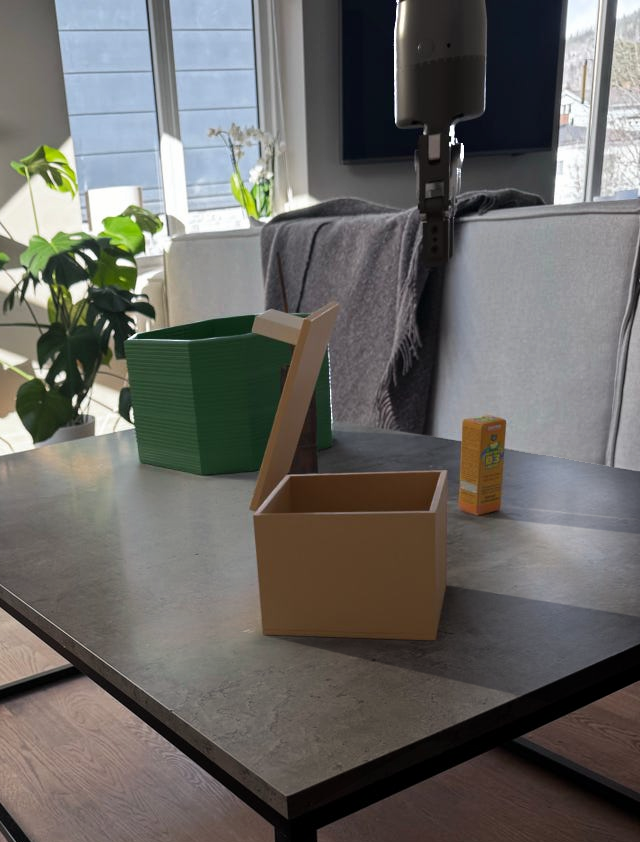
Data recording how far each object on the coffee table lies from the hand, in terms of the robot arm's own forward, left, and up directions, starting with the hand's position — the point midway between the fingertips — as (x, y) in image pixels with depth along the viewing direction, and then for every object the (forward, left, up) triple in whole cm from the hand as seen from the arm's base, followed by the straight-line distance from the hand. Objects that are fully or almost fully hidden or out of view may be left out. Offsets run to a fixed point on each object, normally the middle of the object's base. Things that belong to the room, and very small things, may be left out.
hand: (438, 263), depth 85 cm
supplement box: (-4, -7, -26) cm, 27 cm away
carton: (+5, +21, -26) cm, 34 cm away
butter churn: (+18, -21, -26) cm, 38 cm away
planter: (+33, -40, -26) cm, 58 cm away
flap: (+9, +21, -8) cm, 24 cm away
